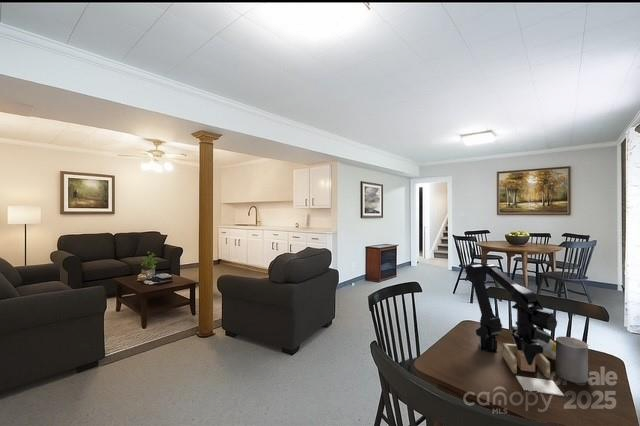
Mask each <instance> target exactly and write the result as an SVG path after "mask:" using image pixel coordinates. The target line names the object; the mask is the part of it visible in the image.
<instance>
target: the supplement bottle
mask: <svg viewBox="0 0 640 426" xmlns="http://www.w3.org/2000/svg"><path fill="white" fill-rule="evenodd" d="M532 341H537V342H538V343H539V344H540V345H541V346H542V347H543V353H542V354H543V355H544V356H545V357H548V358H550V359H553V360H554V359H555V360H556V341H555V342H554V340H552V338H551V339H550V341H549V343H545V342H544V341H542V340H539V339H537V340H533V339H532Z"/></svg>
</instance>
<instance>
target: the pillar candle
mask: <svg viewBox="0 0 640 426" xmlns="http://www.w3.org/2000/svg"><path fill="white" fill-rule="evenodd" d="M555 343H556V358H555V373H556V375H557V376H558V377H560V378H562V379H563V380H565V381H568V382H570V383H574V384H585V383H587V382H588V380H589V375H588V374H589V353H588V352H589V344H587V342H585V341H583V340H581V339H578V338H575V337H570V336H562V335H561V336H557V337H555Z"/></svg>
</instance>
